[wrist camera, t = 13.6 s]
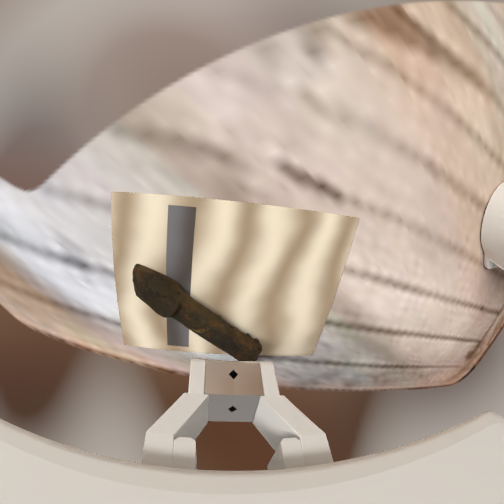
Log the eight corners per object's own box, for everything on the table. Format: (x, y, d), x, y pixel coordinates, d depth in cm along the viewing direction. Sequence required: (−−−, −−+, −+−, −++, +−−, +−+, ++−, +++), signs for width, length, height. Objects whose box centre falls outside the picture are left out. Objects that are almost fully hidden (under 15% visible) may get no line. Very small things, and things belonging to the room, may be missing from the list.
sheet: (355, 215, 33) (358, 218, 32) (310, 350, 43) (312, 355, 42) (114, 189, 29) (111, 191, 28) (125, 340, 38) (124, 344, 37)
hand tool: (261, 336, 39) (266, 360, 35) (240, 351, 40) (243, 375, 35) (151, 246, 31) (143, 266, 27) (131, 268, 32) (121, 289, 28)
